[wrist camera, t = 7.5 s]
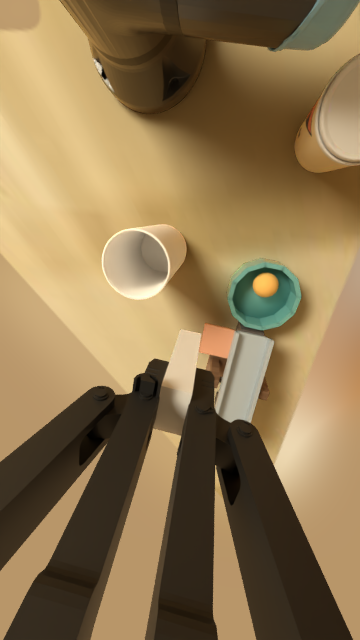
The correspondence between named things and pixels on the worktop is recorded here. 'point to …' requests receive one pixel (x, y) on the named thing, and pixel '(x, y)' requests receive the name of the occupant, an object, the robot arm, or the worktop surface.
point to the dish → (263, 309)
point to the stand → (219, 363)
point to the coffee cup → (333, 124)
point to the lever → (237, 368)
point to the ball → (265, 285)
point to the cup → (143, 259)
